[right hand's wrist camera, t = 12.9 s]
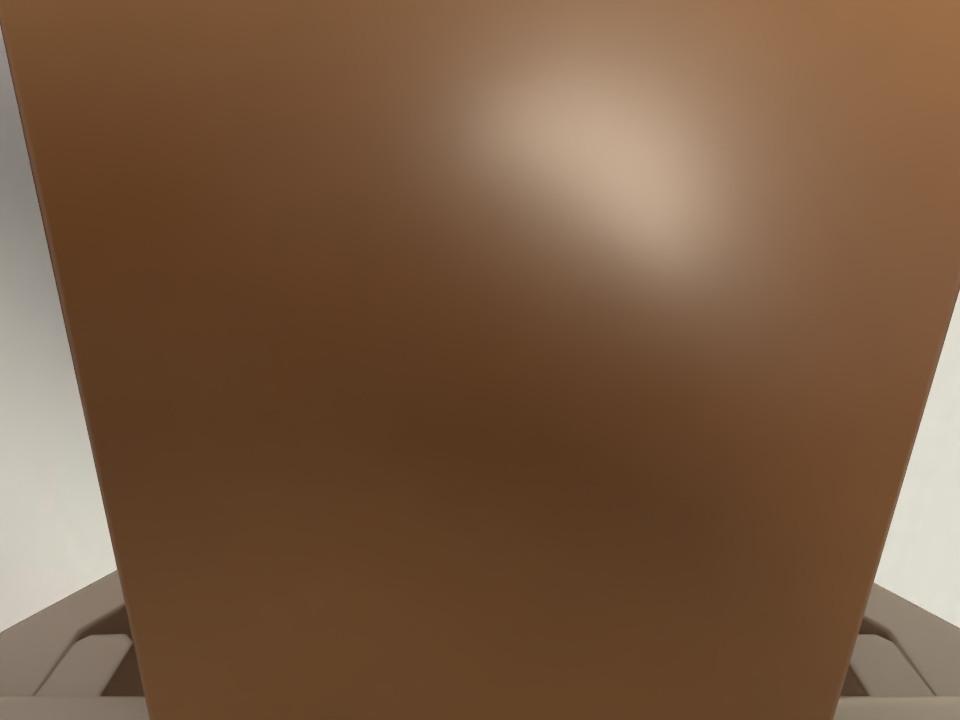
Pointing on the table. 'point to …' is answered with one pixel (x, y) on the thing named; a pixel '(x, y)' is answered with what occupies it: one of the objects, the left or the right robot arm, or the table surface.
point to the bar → (497, 339)
